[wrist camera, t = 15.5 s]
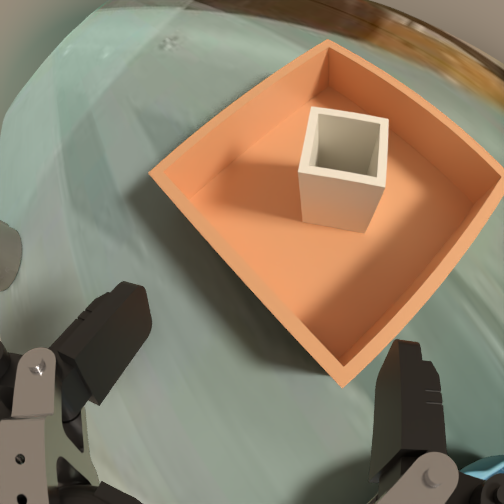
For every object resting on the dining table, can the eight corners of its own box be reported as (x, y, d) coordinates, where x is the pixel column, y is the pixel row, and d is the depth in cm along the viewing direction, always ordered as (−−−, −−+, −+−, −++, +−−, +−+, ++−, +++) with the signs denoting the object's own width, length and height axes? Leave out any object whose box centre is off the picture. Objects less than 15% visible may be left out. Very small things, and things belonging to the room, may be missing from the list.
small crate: (364, 233, 27) (385, 187, 19) (302, 222, 29) (297, 172, 20) (371, 177, 28) (388, 119, 20) (313, 167, 30) (311, 106, 21)
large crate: (178, 205, 32) (148, 173, 26) (328, 83, 33) (327, 39, 27) (334, 376, 25) (342, 388, 19) (481, 209, 27) (513, 178, 20)
